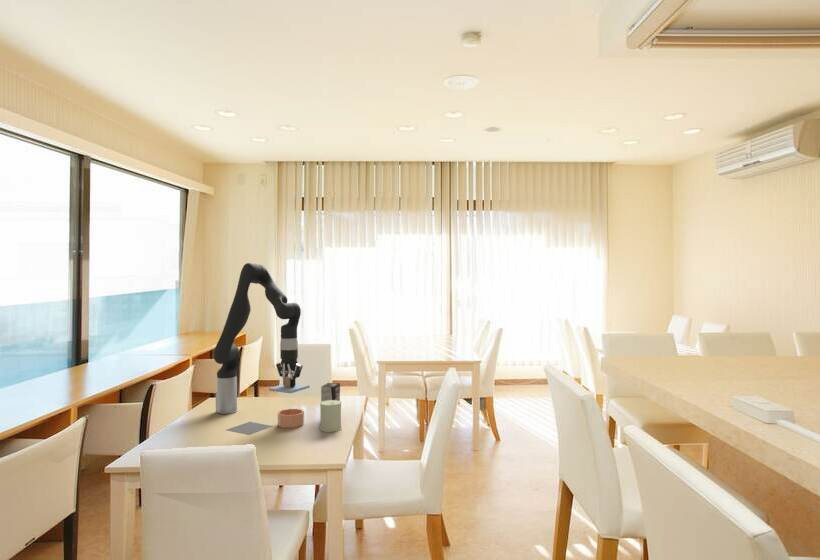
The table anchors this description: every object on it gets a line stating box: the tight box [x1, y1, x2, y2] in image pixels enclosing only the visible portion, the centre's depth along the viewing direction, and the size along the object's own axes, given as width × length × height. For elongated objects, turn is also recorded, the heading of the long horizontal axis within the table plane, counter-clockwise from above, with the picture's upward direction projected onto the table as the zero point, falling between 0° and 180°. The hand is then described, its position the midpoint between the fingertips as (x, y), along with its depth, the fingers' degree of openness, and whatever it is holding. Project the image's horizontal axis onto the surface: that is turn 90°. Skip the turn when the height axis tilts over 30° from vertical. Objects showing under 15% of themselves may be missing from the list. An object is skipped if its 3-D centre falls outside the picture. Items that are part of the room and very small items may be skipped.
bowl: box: [277, 408, 305, 429], centre depth 229 cm, size 11×11×6 cm
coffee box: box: [320, 382, 341, 403], centre depth 239 cm, size 9×6×16 cm
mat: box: [226, 421, 273, 436], centre depth 224 cm, size 14×14×1 cm
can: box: [319, 400, 342, 433], centre depth 224 cm, size 9×9×12 cm
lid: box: [268, 375, 310, 394], centre depth 228 cm, size 12×12×6 cm
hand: (289, 386), depth 228 cm, fingers closed on lid, 3 cm apart
